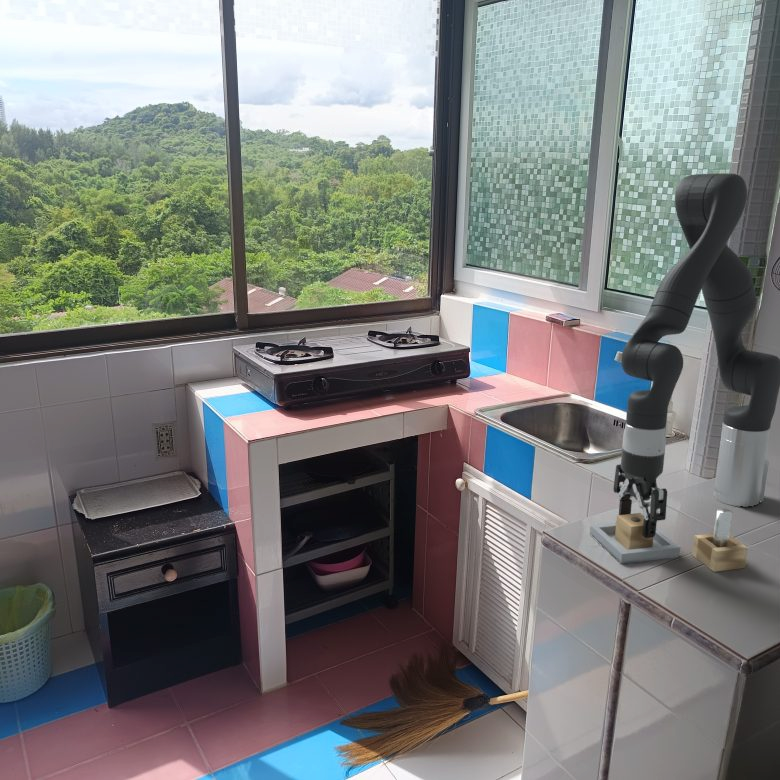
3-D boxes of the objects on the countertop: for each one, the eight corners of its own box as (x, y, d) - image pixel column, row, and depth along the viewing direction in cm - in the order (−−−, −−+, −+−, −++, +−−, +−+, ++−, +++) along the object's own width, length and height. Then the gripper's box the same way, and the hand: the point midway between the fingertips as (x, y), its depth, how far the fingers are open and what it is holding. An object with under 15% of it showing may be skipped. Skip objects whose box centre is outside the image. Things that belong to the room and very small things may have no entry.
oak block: (722, 551, 140) (724, 531, 139) (744, 567, 134) (747, 547, 133) (692, 554, 138) (694, 535, 137) (713, 571, 132) (716, 551, 131)
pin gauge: (719, 557, 138) (726, 507, 135) (728, 563, 135) (735, 513, 133) (706, 558, 137) (713, 509, 134) (715, 565, 135) (723, 515, 132)
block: (637, 536, 145) (640, 512, 143) (652, 548, 140) (654, 523, 139) (614, 539, 144) (616, 515, 142) (628, 551, 139) (631, 526, 138)
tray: (644, 528, 149) (645, 519, 148) (679, 556, 138) (680, 547, 137) (589, 534, 146) (590, 525, 146) (621, 563, 135) (621, 554, 135)
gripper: (684, 459, 131) (675, 541, 135) (640, 433, 144) (633, 509, 149) (646, 462, 129) (638, 546, 134) (605, 436, 143) (599, 513, 147)
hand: (636, 526), depth 141 cm, fingers open, 8 cm apart
